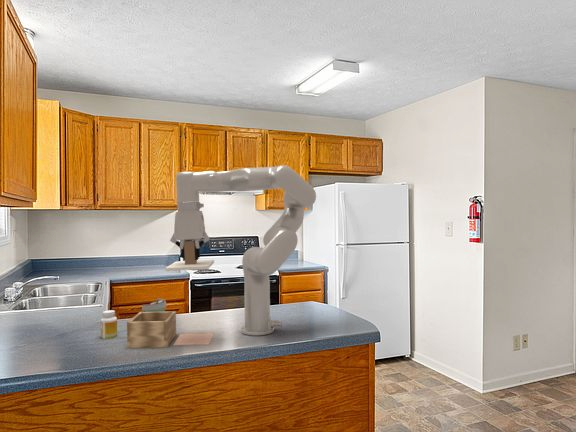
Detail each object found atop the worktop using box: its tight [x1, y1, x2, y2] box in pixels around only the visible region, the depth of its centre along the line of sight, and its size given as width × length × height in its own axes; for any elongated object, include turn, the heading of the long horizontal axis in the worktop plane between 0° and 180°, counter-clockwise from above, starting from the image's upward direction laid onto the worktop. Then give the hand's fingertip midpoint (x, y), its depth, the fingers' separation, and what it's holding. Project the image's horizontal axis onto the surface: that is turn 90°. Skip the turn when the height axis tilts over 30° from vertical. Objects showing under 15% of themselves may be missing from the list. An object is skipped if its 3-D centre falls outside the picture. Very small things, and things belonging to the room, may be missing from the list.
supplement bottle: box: [100, 309, 118, 340], centre depth 155 cm, size 5×5×10 cm
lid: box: [165, 240, 215, 272], centre depth 151 cm, size 14×15×9 cm
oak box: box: [126, 311, 177, 349], centre depth 150 cm, size 13×14×9 cm
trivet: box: [172, 333, 214, 346], centre depth 152 cm, size 12×12×1 cm
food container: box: [141, 298, 168, 312], centre depth 169 cm, size 12×6×10 cm, turn 168°
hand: (190, 259), depth 151 cm, fingers closed on lid, 3 cm apart
